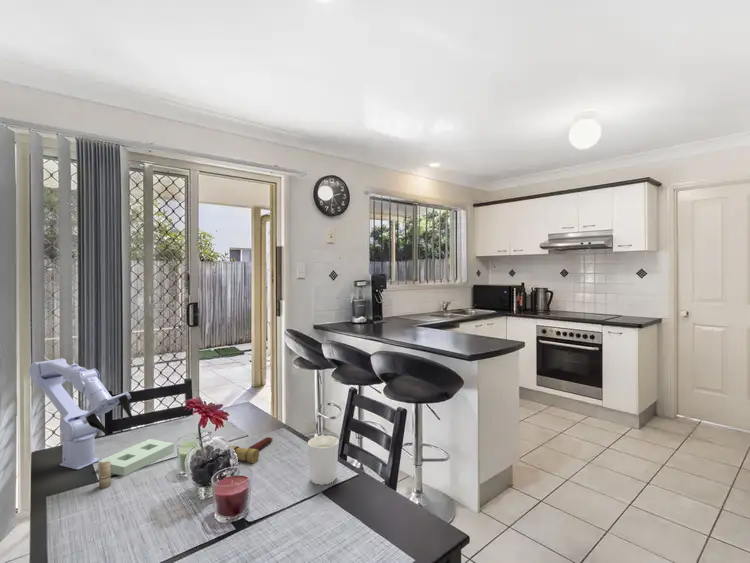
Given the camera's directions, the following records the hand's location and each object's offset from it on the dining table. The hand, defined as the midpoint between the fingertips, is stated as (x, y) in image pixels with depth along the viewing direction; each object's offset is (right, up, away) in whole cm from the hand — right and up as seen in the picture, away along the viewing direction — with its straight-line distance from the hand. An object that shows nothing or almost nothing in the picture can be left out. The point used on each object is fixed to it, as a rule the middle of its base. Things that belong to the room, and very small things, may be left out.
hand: (119, 424), depth 132 cm
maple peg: (-2, -18, -4) cm, 18 cm away
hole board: (-1, -17, +13) cm, 22 cm away
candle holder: (+65, -18, +1) cm, 68 cm away
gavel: (+38, -18, +22) cm, 47 cm away
